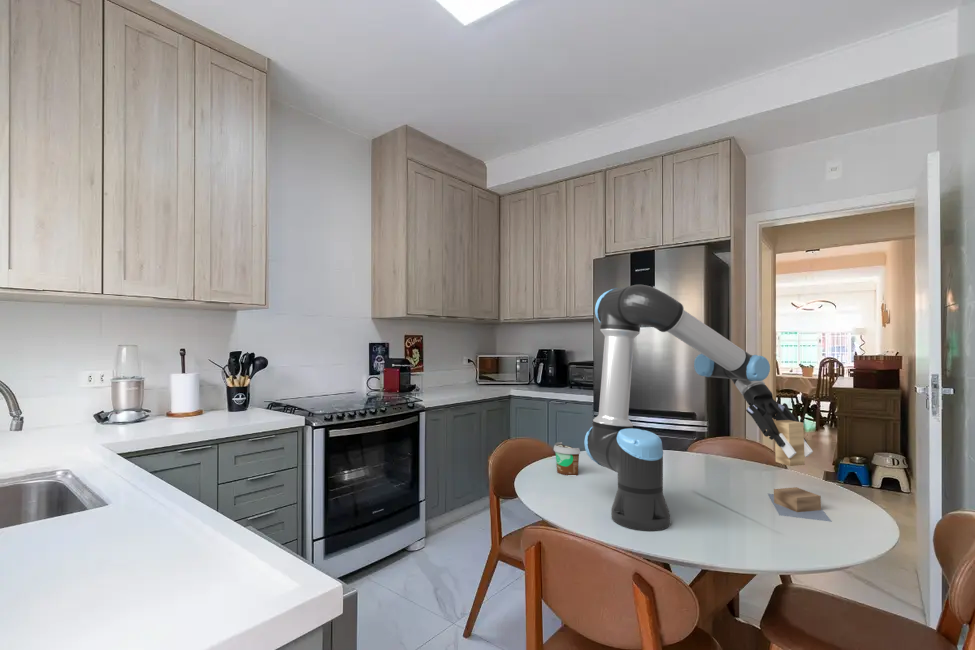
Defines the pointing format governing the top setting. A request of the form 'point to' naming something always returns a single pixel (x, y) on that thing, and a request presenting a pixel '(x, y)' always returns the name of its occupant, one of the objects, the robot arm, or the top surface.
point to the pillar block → (791, 442)
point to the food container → (566, 459)
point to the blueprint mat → (807, 515)
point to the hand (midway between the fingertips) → (800, 454)
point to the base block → (797, 499)
